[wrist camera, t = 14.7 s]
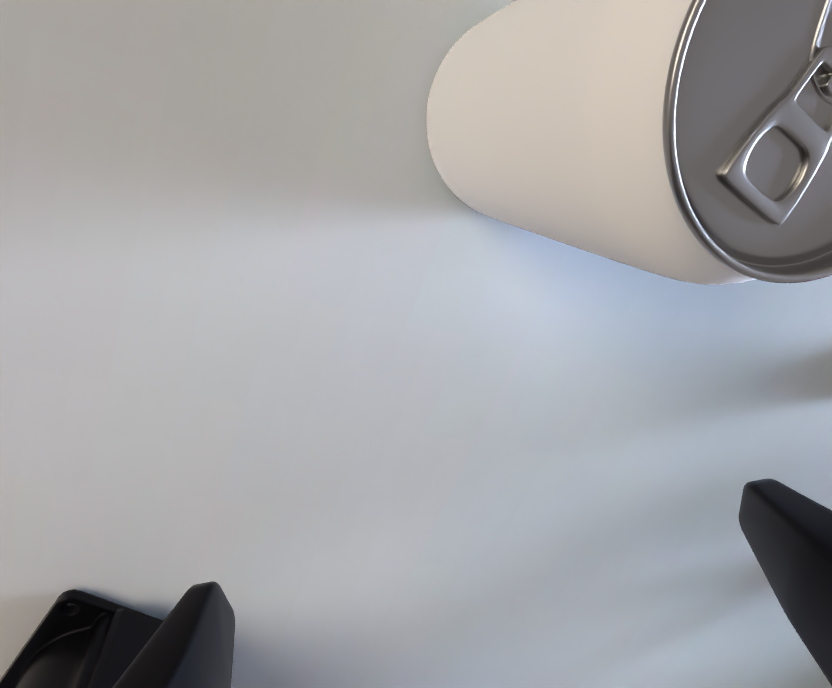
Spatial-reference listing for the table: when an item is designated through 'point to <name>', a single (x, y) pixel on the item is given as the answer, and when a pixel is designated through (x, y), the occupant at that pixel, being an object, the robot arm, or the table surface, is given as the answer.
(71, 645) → the robot arm
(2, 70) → the table surface
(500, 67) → the can
